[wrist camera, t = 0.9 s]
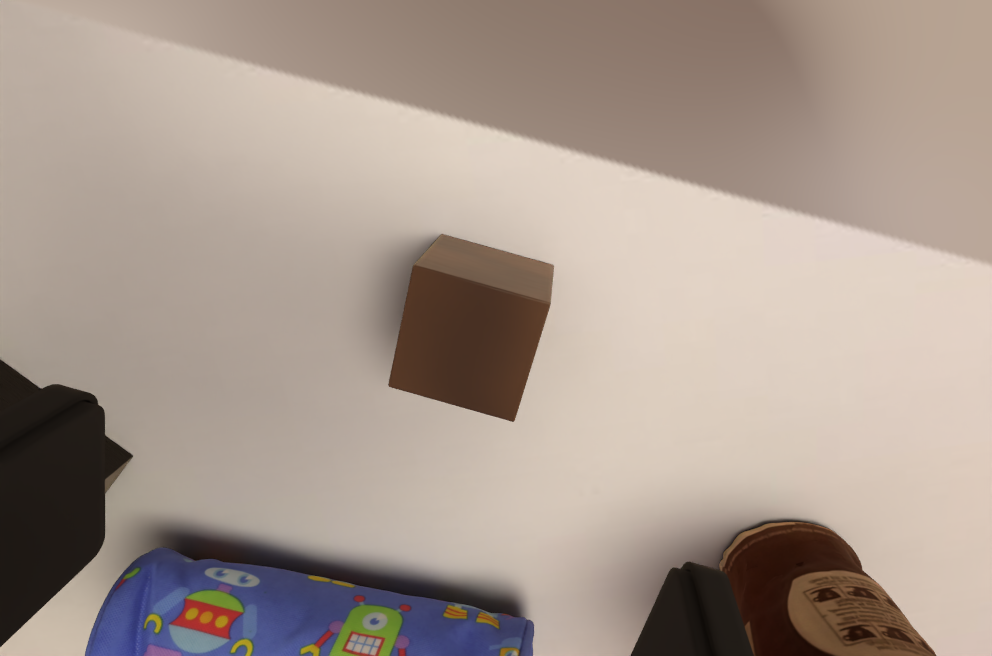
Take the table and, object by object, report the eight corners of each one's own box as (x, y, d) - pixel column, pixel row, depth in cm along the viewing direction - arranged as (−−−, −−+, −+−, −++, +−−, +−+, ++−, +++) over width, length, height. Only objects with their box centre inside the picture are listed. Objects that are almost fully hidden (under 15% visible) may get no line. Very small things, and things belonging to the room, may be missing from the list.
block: (418, 337, 27) (387, 386, 23) (441, 233, 26) (412, 264, 21) (523, 366, 27) (514, 422, 23) (554, 265, 25) (551, 303, 21)
